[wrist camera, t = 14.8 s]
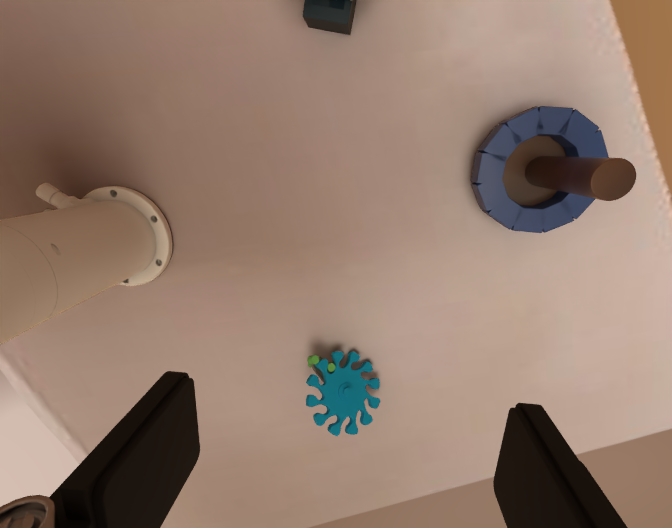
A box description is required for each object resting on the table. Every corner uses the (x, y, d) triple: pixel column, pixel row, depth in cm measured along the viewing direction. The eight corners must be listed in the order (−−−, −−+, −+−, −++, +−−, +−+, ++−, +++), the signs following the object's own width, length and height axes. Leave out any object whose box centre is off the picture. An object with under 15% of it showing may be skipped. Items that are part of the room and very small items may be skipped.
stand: (473, 183, 39) (519, 197, 27) (531, 107, 37) (613, 84, 24) (538, 228, 40) (613, 263, 27) (600, 157, 37) (714, 160, 25)
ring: (448, 186, 39) (453, 188, 36) (527, 84, 35) (538, 79, 33) (534, 248, 40) (544, 254, 37) (619, 155, 36) (636, 155, 34)
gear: (397, 394, 46) (345, 457, 41) (374, 392, 51) (325, 448, 47) (344, 326, 46) (286, 382, 41) (326, 332, 51) (273, 381, 46)
